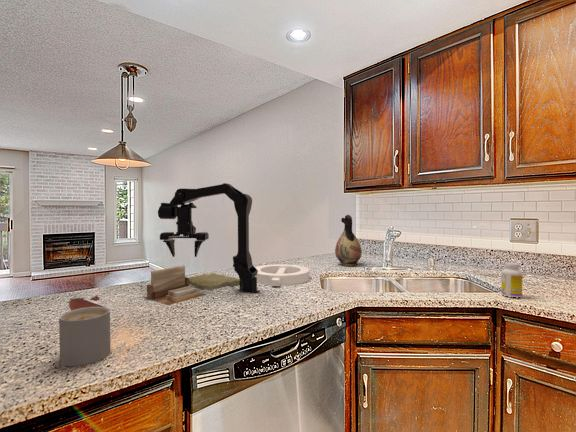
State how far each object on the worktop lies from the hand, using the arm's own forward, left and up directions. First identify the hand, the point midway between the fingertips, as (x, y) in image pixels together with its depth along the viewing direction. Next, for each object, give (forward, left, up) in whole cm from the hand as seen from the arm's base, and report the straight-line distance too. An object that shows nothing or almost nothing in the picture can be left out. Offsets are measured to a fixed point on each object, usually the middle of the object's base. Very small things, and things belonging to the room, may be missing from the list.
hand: (184, 256), depth 135 cm
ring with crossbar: (-20, -40, -14) cm, 47 cm away
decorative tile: (-3, -12, -14) cm, 19 cm away
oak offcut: (-12, +10, -13) cm, 20 cm away
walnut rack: (-8, +10, -14) cm, 19 cm away
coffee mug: (-30, +50, -14) cm, 60 cm away
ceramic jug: (-32, -92, -14) cm, 98 cm away
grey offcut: (-12, +10, -11) cm, 19 cm away
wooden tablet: (+7, +34, -15) cm, 38 cm away
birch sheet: (-4, +10, -13) cm, 17 cm away
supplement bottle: (-111, -67, -14) cm, 130 cm away
